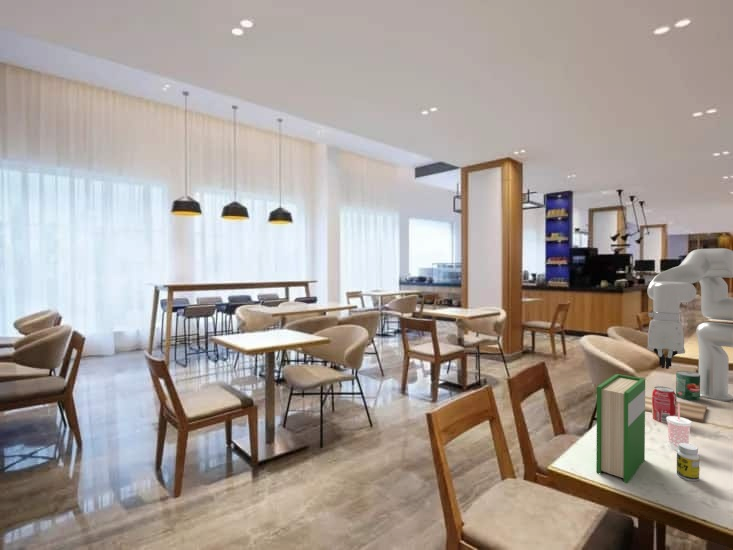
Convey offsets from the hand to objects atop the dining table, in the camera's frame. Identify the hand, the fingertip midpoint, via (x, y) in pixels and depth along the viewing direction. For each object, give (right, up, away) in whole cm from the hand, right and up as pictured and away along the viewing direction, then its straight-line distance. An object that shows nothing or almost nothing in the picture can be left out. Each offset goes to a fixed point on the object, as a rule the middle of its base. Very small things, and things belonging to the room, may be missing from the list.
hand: (665, 367), depth 142 cm
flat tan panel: (+7, -19, +14) cm, 25 cm away
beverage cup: (-11, -21, -20) cm, 31 cm away
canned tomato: (+27, -19, +23) cm, 40 cm away
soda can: (0, -20, +1) cm, 20 cm away
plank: (+14, -19, +7) cm, 25 cm away
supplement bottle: (-21, -21, -36) cm, 47 cm away
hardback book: (-35, -21, -30) cm, 51 cm away
